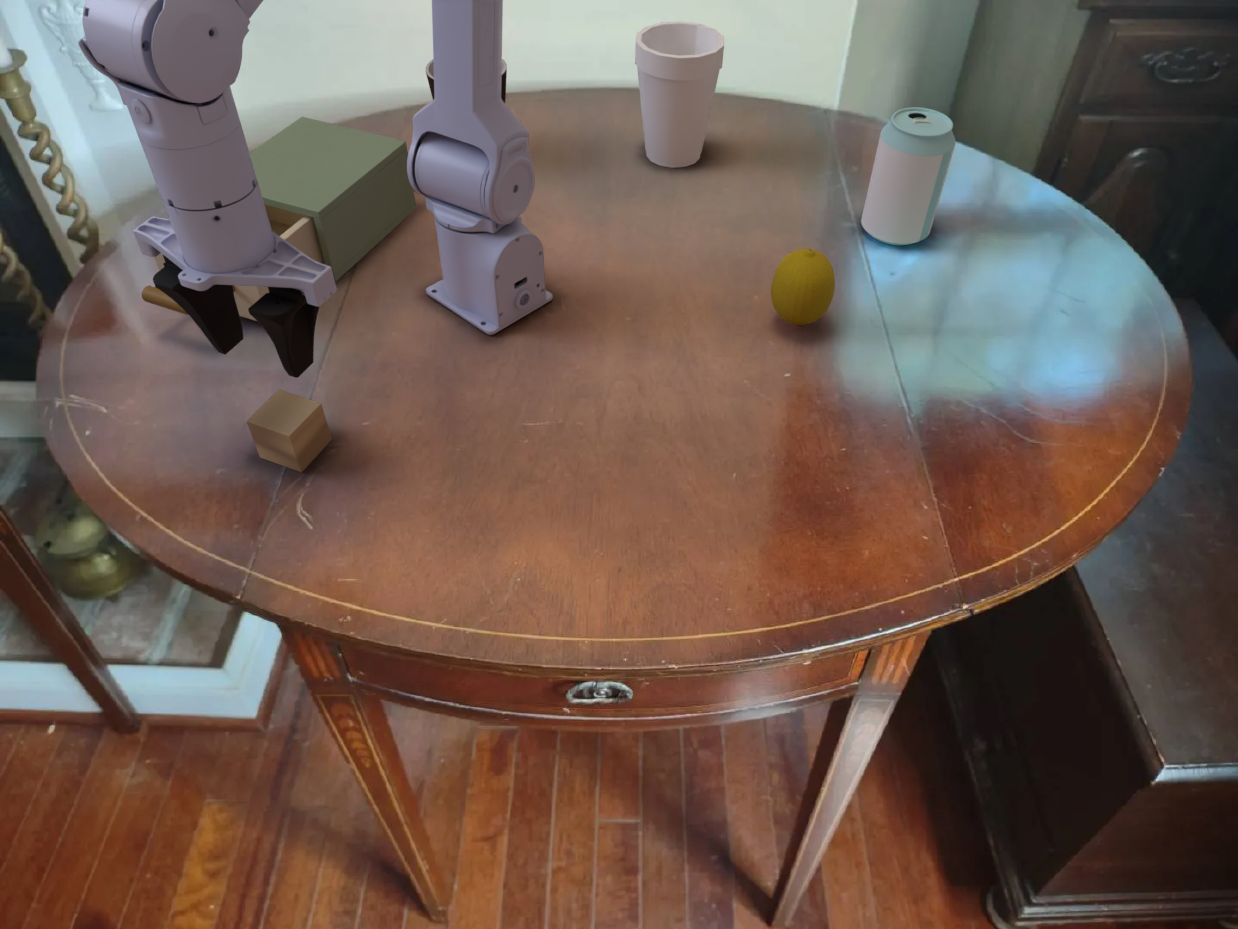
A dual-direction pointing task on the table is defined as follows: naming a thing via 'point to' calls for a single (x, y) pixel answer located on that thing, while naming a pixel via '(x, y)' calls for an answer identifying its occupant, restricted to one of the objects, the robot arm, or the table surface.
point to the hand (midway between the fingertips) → (265, 356)
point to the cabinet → (337, 185)
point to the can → (908, 176)
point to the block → (289, 430)
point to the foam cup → (677, 88)
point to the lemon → (803, 286)
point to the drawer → (295, 232)
